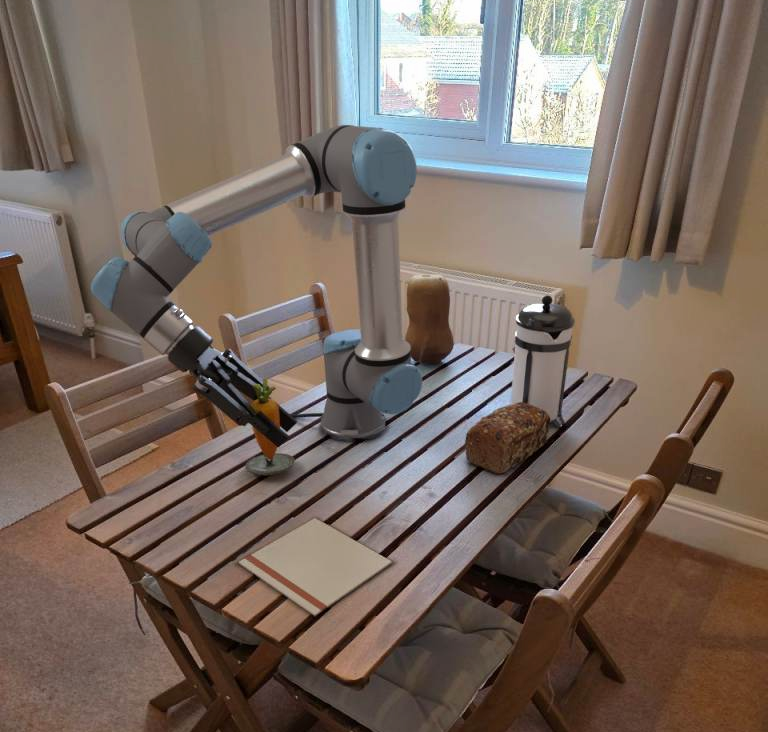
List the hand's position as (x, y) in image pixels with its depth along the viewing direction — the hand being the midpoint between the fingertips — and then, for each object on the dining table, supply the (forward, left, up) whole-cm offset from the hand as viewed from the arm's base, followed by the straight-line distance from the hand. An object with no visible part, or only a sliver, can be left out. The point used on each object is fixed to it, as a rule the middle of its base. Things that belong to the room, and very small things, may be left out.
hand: (287, 434), depth 119 cm
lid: (-21, +10, -20) cm, 31 cm away
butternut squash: (-34, +78, -20) cm, 88 cm away
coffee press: (+7, +68, -20) cm, 71 cm away
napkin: (+10, -5, -20) cm, 23 cm away
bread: (+13, +49, -20) cm, 55 cm away
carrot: (-3, -2, -5) cm, 7 cm away
